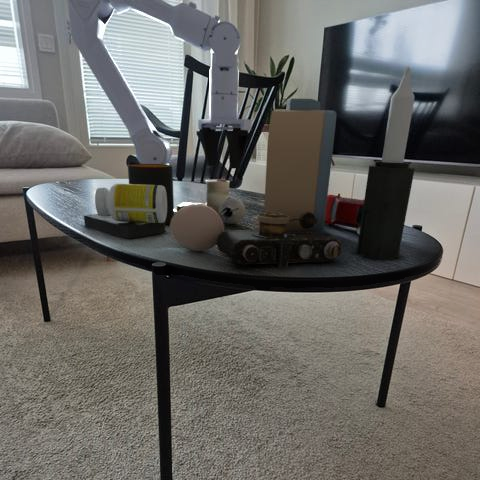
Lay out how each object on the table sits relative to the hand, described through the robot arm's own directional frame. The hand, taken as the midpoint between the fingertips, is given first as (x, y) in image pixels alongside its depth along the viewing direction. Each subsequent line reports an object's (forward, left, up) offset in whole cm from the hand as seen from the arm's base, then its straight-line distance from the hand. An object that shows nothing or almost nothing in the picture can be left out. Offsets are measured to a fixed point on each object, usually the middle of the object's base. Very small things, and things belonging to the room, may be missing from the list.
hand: (222, 167), depth 90 cm
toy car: (+24, +15, -7) cm, 30 cm away
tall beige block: (+24, 0, -10) cm, 26 cm away
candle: (+41, +1, -10) cm, 42 cm away
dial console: (+2, -5, -10) cm, 11 cm away
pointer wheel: (+3, -4, -7) cm, 9 cm away
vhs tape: (+6, -25, -10) cm, 28 cm away
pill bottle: (+13, -21, -5) cm, 25 cm away
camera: (+32, -13, -7) cm, 35 cm away
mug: (0, -16, -10) cm, 19 cm away
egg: (+29, -21, -6) cm, 36 cm away
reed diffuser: (+15, -11, -10) cm, 21 cm away
